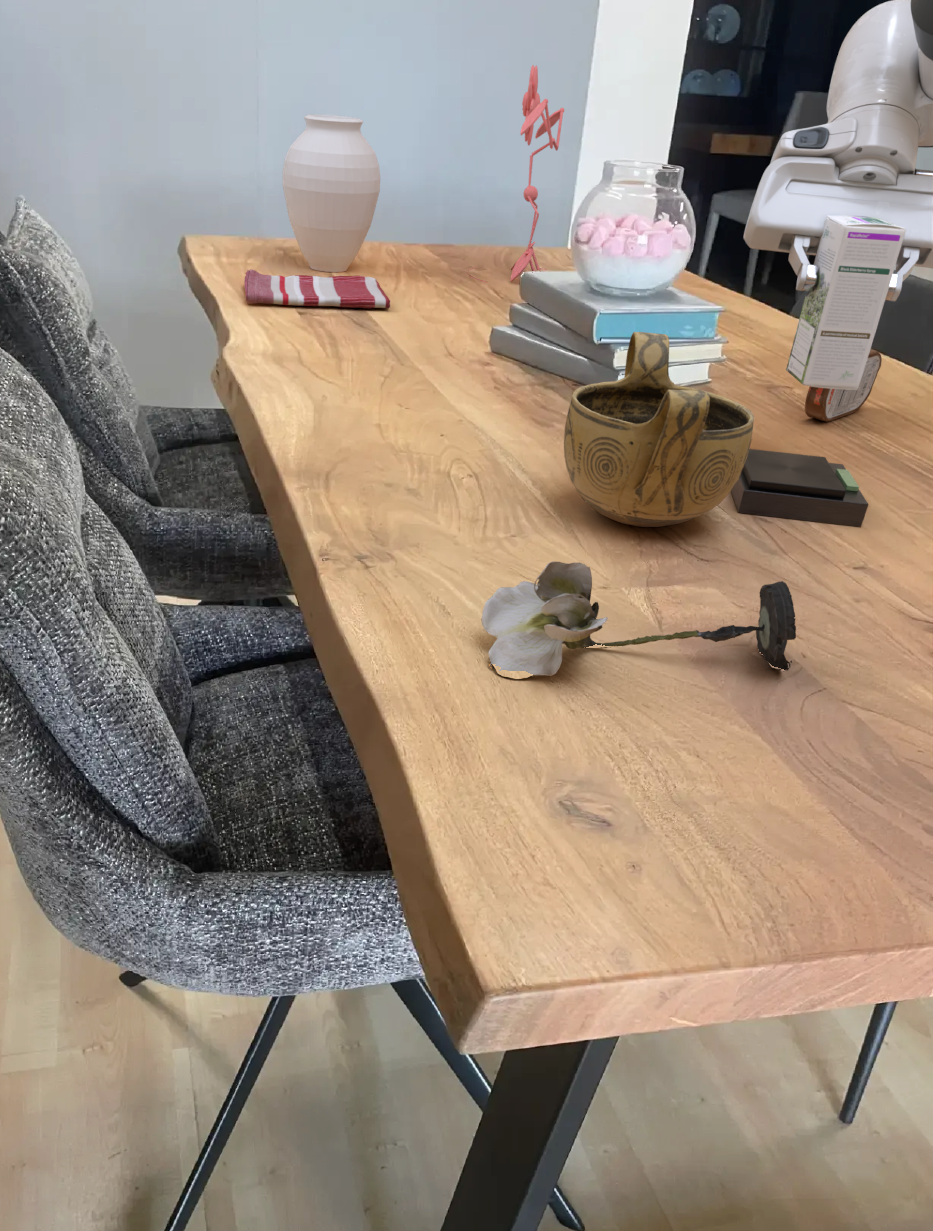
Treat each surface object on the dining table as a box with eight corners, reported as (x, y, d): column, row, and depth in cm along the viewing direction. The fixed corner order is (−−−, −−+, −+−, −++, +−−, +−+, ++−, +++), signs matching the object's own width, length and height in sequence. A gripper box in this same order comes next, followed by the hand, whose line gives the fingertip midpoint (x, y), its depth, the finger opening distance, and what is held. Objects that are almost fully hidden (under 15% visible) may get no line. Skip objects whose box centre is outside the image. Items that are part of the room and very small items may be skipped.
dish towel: (243, 284, 182) (243, 267, 181) (377, 290, 186) (378, 273, 184) (245, 306, 168) (245, 288, 167) (390, 311, 172) (391, 294, 170)
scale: (836, 485, 114) (845, 456, 112) (861, 527, 104) (871, 496, 102) (723, 472, 115) (731, 444, 113) (738, 512, 105) (746, 482, 103)
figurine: (546, 269, 215) (575, 67, 195) (540, 293, 193) (571, 68, 174) (472, 261, 216) (493, 60, 197) (457, 284, 195) (479, 61, 176)
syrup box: (859, 391, 102) (912, 226, 94) (799, 386, 101) (846, 221, 93) (839, 375, 106) (887, 217, 98) (781, 370, 106) (825, 212, 98)
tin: (848, 403, 143) (868, 339, 138) (871, 409, 141) (892, 344, 136) (796, 422, 133) (815, 354, 129) (819, 429, 132) (839, 360, 127)
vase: (280, 257, 206) (282, 109, 192) (370, 261, 208) (378, 116, 195) (282, 274, 191) (284, 116, 178) (379, 279, 194) (388, 123, 180)
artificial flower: (796, 712, 76) (831, 609, 68) (482, 717, 77) (483, 617, 70) (771, 626, 82) (801, 523, 74) (480, 632, 83) (480, 532, 76)
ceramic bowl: (543, 469, 112) (566, 322, 104) (702, 482, 112) (737, 336, 104) (563, 555, 93) (592, 383, 85) (754, 570, 93) (801, 400, 85)
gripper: (965, 200, 103) (950, 325, 100) (751, 179, 106) (730, 299, 103) (994, 151, 97) (978, 283, 94) (765, 130, 100) (744, 257, 97)
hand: (846, 291), depth 99 cm, fingers closed on syrup box, 6 cm apart
